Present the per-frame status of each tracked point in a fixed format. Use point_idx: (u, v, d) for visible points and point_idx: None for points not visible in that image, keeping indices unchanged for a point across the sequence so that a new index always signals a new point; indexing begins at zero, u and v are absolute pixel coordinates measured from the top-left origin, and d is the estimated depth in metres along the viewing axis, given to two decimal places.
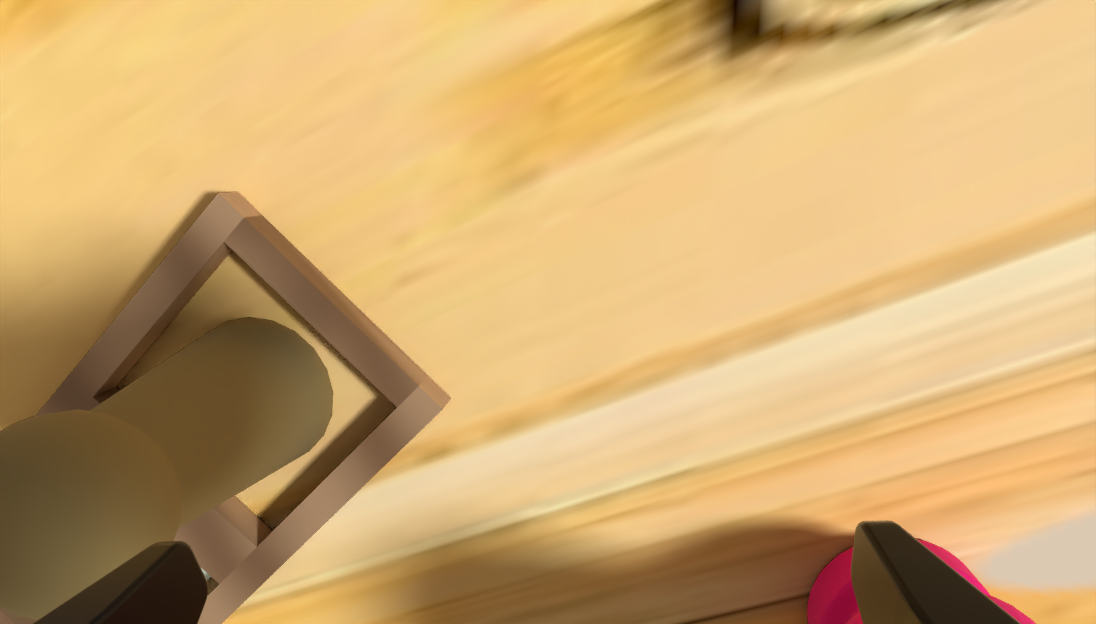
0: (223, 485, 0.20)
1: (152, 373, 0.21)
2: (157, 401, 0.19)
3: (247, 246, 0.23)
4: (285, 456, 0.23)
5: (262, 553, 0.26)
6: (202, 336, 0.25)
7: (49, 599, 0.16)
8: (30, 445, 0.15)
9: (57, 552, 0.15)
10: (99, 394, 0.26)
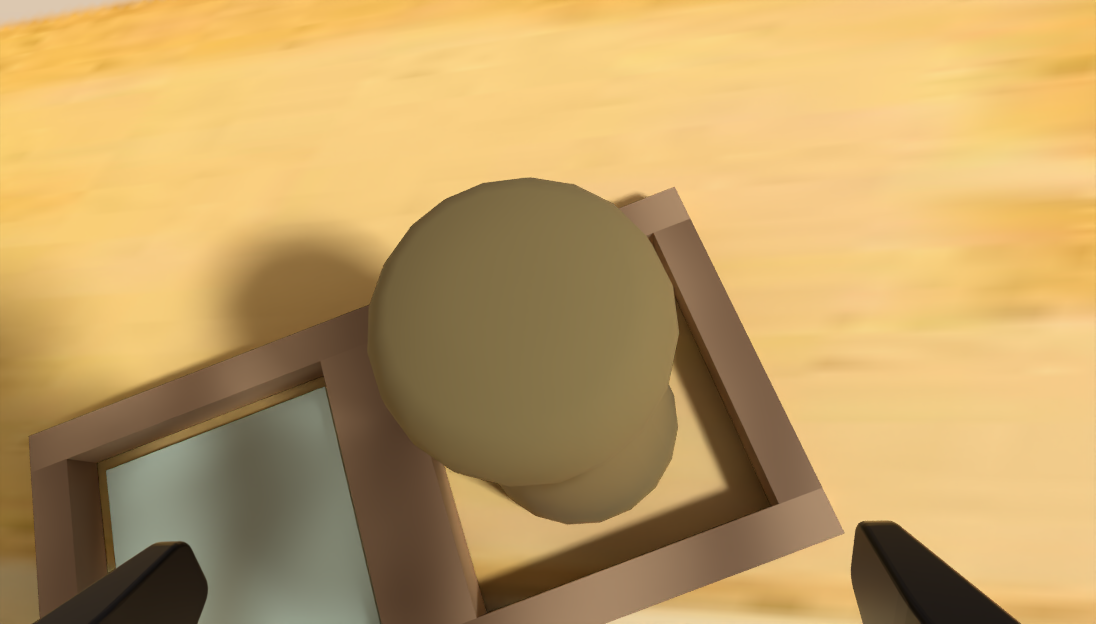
0: (621, 450, 0.14)
1: None
2: None
3: (678, 247, 0.20)
4: (624, 491, 0.17)
5: None
6: None
7: (506, 397, 0.09)
8: (592, 195, 0.11)
9: (578, 327, 0.09)
10: None
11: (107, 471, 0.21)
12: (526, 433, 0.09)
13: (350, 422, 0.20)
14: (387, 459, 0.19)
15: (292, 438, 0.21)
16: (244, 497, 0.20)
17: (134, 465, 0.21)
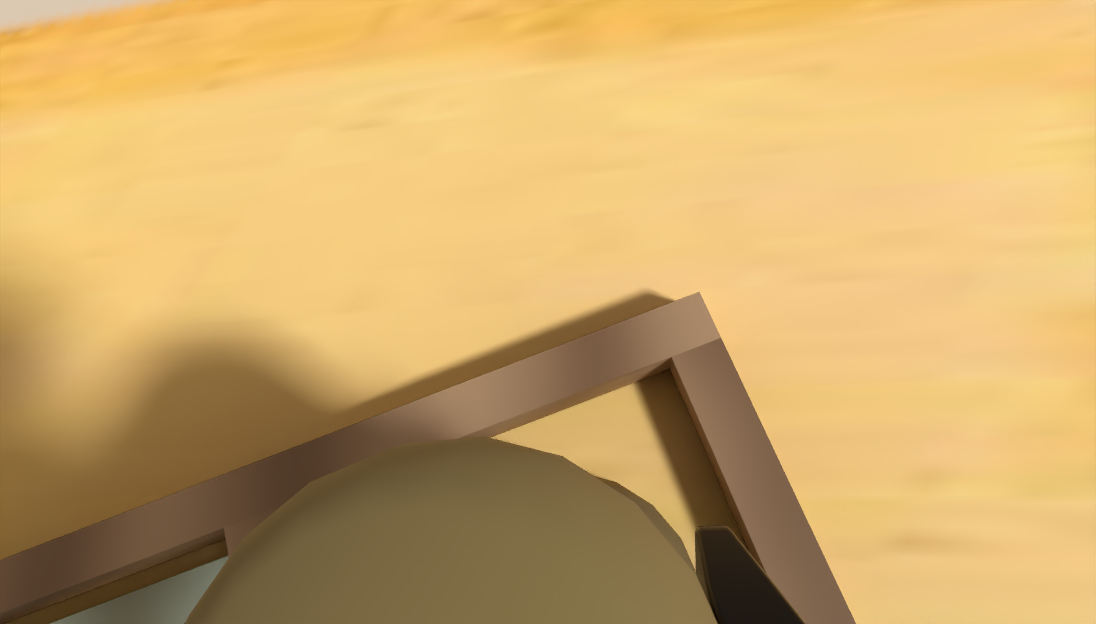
0: None
1: None
2: None
3: (705, 379, 0.15)
4: None
5: None
6: None
7: None
8: (582, 502, 0.06)
9: None
10: None
11: None
12: None
13: None
14: None
15: None
16: None
17: None
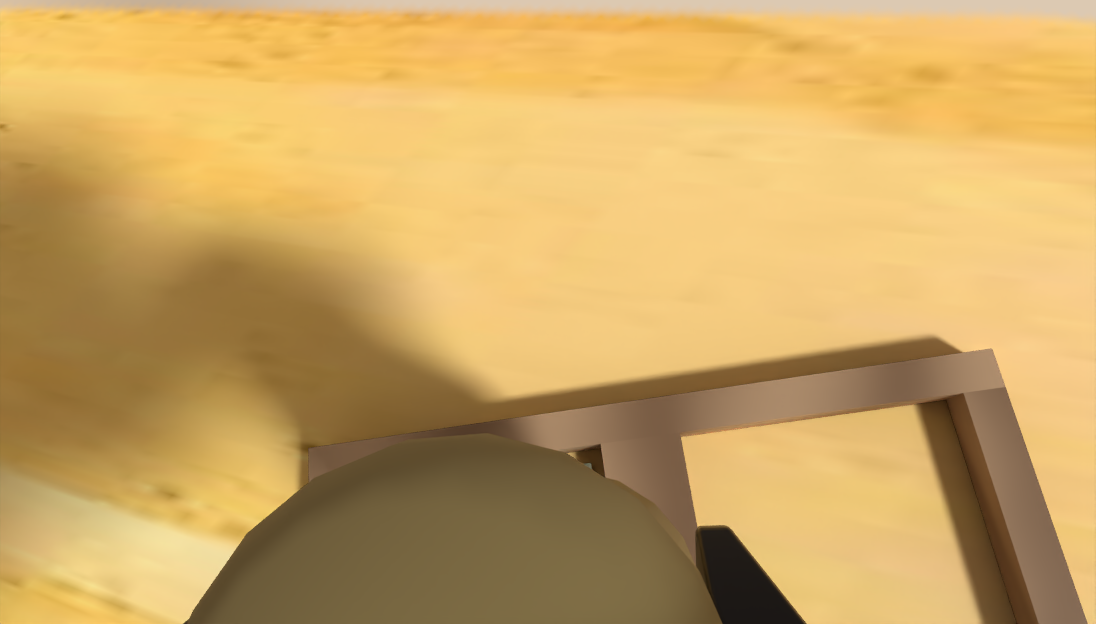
0: None
1: None
2: None
3: (989, 415, 0.20)
4: None
5: None
6: None
7: None
8: (585, 498, 0.06)
9: None
10: (680, 433, 0.21)
11: None
12: None
13: None
14: None
15: None
16: None
17: None
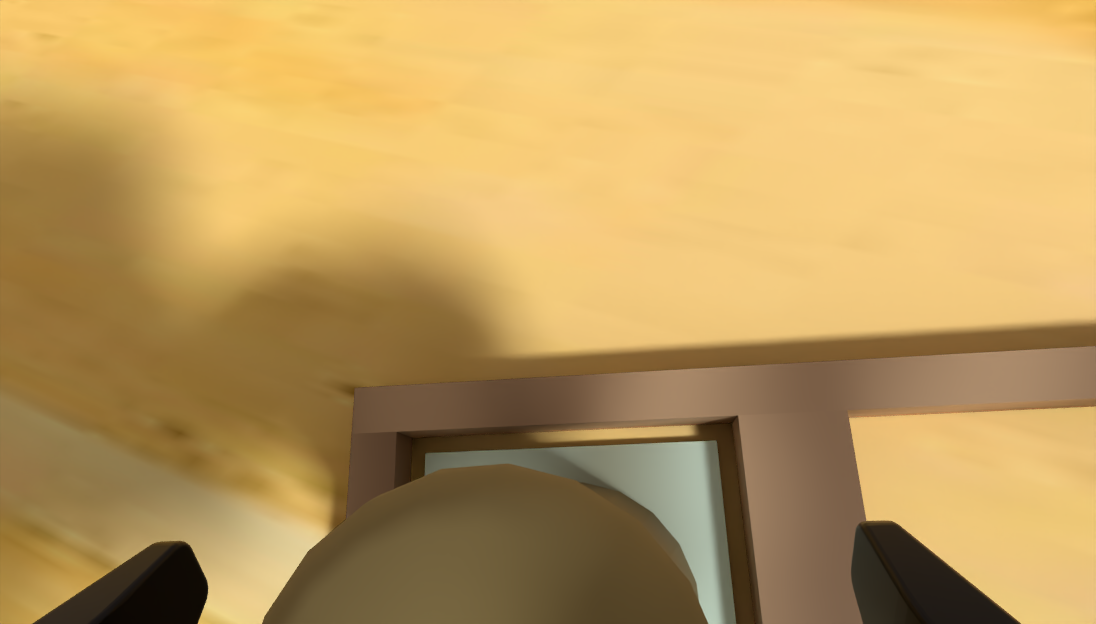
0: None
1: None
2: None
3: None
4: None
5: None
6: None
7: None
8: (594, 521, 0.07)
9: None
10: (845, 412, 0.16)
11: (427, 454, 0.18)
12: None
13: (770, 511, 0.15)
14: (816, 578, 0.15)
15: (665, 493, 0.16)
16: None
17: (460, 459, 0.17)
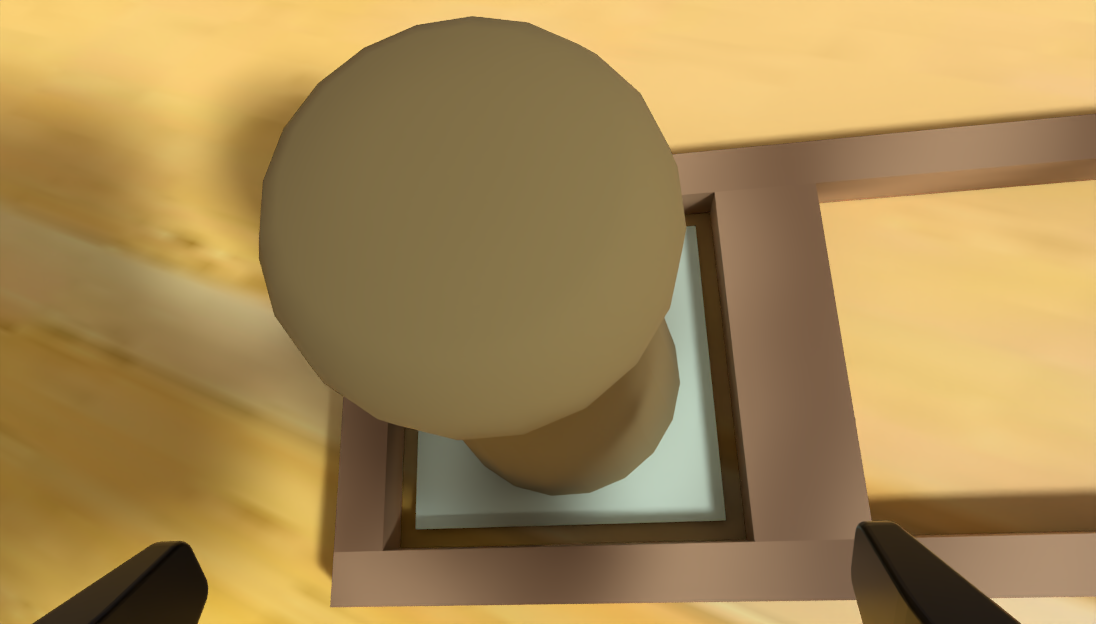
0: (611, 400, 0.11)
1: None
2: None
3: None
4: (617, 454, 0.14)
5: None
6: None
7: (438, 307, 0.06)
8: None
9: (542, 205, 0.07)
10: (814, 188, 0.17)
11: None
12: (469, 358, 0.06)
13: (743, 270, 0.16)
14: (784, 325, 0.16)
15: None
16: None
17: None
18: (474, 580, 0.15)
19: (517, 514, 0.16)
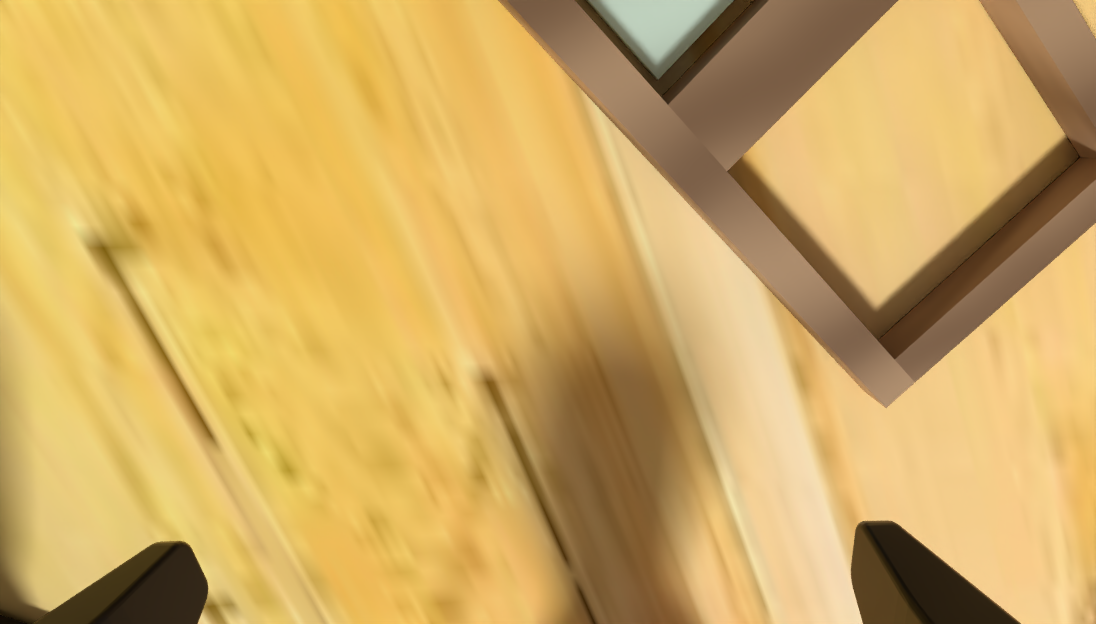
0: None
1: None
2: None
3: None
4: None
5: (717, 179, 0.18)
6: None
7: None
8: None
9: None
10: None
11: None
12: None
13: None
14: (834, 0, 0.17)
15: None
16: None
17: None
18: None
19: None
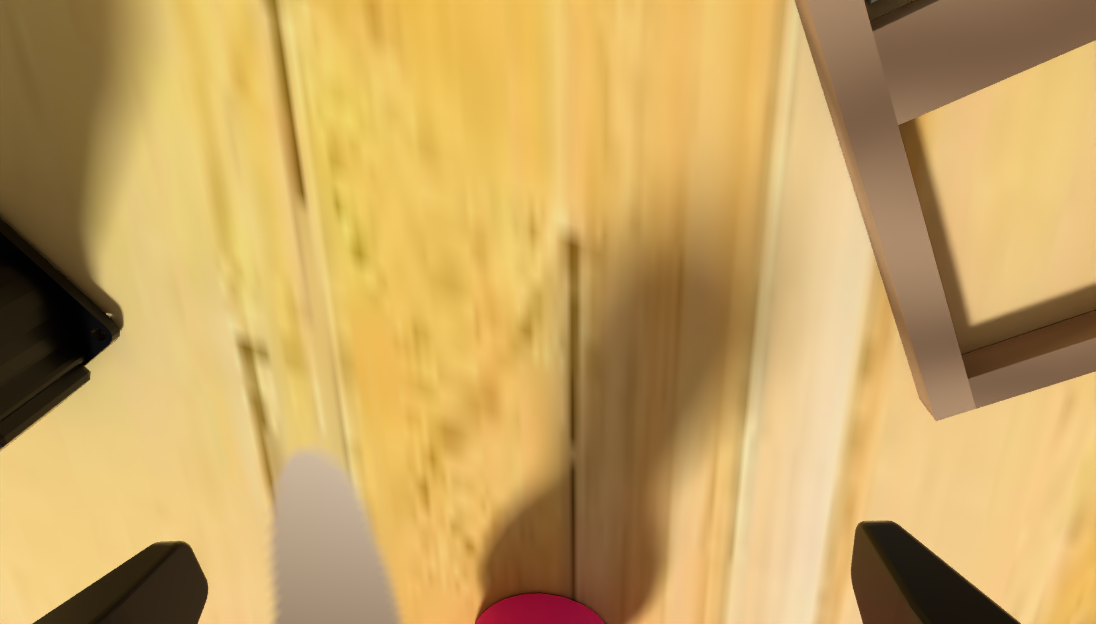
0: None
1: None
2: None
3: None
4: None
5: (884, 129, 0.17)
6: None
7: None
8: None
9: None
10: None
11: None
12: None
13: None
14: None
15: None
16: None
17: None
18: None
19: None
